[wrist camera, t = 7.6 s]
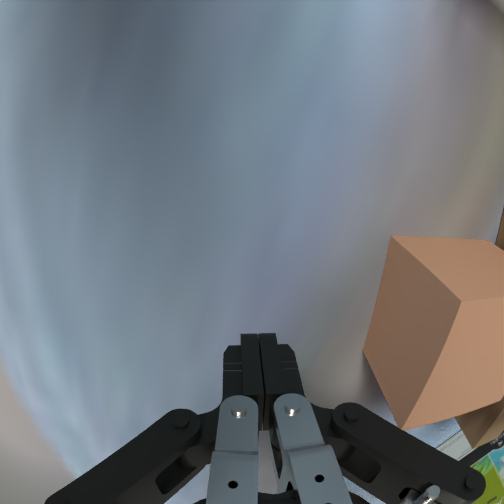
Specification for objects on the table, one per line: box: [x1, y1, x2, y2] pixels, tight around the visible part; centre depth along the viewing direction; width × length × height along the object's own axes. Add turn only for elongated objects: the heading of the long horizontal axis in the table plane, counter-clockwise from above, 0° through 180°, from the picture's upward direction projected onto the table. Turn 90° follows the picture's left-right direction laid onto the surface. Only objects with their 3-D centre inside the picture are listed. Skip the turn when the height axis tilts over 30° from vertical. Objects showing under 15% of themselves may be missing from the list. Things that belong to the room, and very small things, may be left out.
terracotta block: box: [363, 236, 504, 431], centre depth 15 cm, size 8×8×7 cm
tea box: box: [436, 430, 504, 504], centre depth 22 cm, size 15×10×15 cm
